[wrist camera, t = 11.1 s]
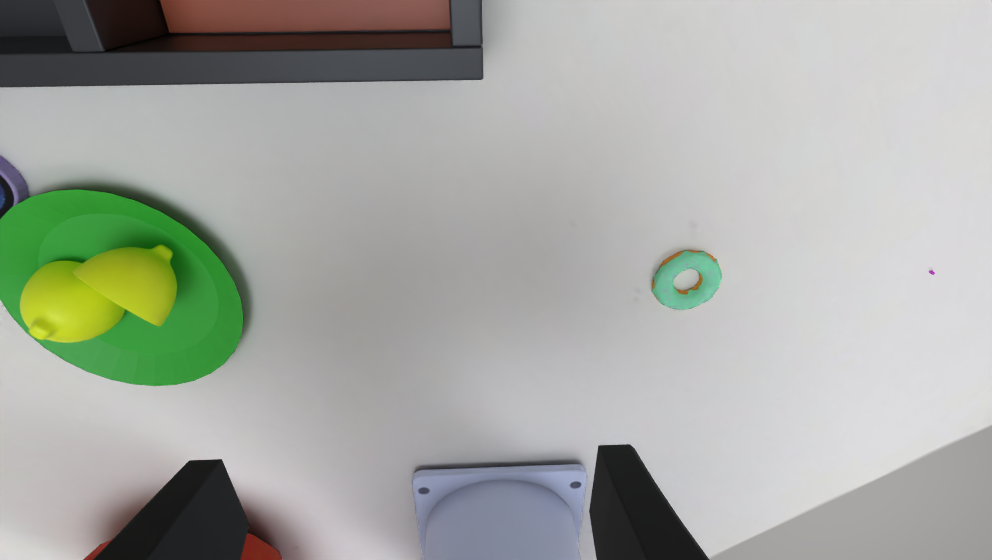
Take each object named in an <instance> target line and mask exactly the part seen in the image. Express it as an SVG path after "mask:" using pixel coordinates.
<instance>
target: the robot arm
mask: <svg viewBox="0 0 992 560" xmlns="http://www.w3.org/2000/svg"><path fill="white" fill-rule="evenodd" d="M586 481H587V474H586V469H585V467H584V466H582V465H579V464H567V465H540V466H514V467H487V468H461V469H434V470H419V471H417V472H415V473H414V474H413V478H412V487H413V494H414V501H415V508H416V516H417V523H418V530H419V537H420V544H421V551H422V558H423V560H581V558H580V553H579V547H578V543H579V535H580V528H581V520H582V512H583V504H584V496H585V489H586ZM589 512H590V519H591V525H592V532H593V539H594V545H595V551H596V557H597V560H709V559H708V557H707V556H706V554H705V553H704V552H703V550H702V549H701V548H700V546H699V545H698V543H697V542H696V541H695V539H694V538H693V537H692V535H691V534H690V533H689V531H688V530H687V528H686V527H685V526H684V524H683V523H682V521H681V520H680V518H679V517H678V516H677V514H676V513H675V511H674V510H673V508H672V507H671V505H670V504H669V502H668V501H667V499H666V498H665V496H664V495H663V493H662V492H661V490H660V489H659V487H658V486H657V484H656V483H655V481H654V480H653V478H652V476H651V475H650V473H649V472H648V470H647V468H646V467H645V465H644V464H643V462H642V460H641V459H640V457H639V455H638V454H637V452H636V450H635V449H634V448H633V447H632V446H631V445H630V444H627V445H600V446H598V453H597V460H596V467H595V474H594V481H593V489H592V496H591V503H590V510H589ZM248 528H249V523H248V520H247V518H246V516H245V513H244V511H243V509H242V506H241V504H240V501H239V499H238V497H237V494H236V492H235V490H234V487H233V485H232V482H231V480H230V478H229V475H228V473H227V471H226V468H225V466H224V463H223V461H222V459H218V460H191V461H188V462H187V463H186V464H185V466H184V467H183V468H182V469H181V470H180V471H179V472H178V473H177V474H176V475H175V476H174V477H173V478H172V479H171V480H170V481H169V482H168V483H167V484H166V485H165V486H164V487H163V488H162V489H161V490H160V491H159V492H158V493H157V494H156V495H155V496H154V497H153V498H152V499H151V500H150V501H149V502H148V503H147V505H146V506H145V507H144V508H143V509H142V510H141V511H140V512H139V513H138V514H137V515H136V516H135V517H134V518H133V519H132V520H131V521H130V522H129V523H128V524H127V525H126V526H125V527H124V528H123V529H122V530H121V531H120V533H119V534H118V535H117V536H116V537H115V538H114V539H113V540H112V541H111V542H110V543H109V544H108V545H107V546H106V547H105V548H104V549H103V550H102V551H101V552H100V553H99V554H98V555H97V556H96V557H95V558H94V559H93V560H240V559H241V556H242V552H243V548H244V544H245V540H246V536H247V532H248Z"/></svg>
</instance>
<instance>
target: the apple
mask: <svg viewBox="0 0 992 560" xmlns="http://www.w3.org/2000/svg"><path fill="white" fill-rule="evenodd" d="M113 539H114V538H113ZM113 539H111V540H109V541H107V542H105V543H103V544H100V545H99V546H98V547H97V548H96V549H95V550H94V551H92V552H91V553H90V554H89V555H88V556H87V557H86V558H85V559H83V560H93V559H94V558H95V557H96V556H97V555H98V554H99V553H100V552H101V551H102V550H103V549H104V548H105V547H106V546H107V545H108V544H109V543H110V542H111V541H112V540H113ZM240 560H282V558H281V555H280V553H279V551H278V550H276V549H274V548H273V547H271V546H270V545H268V544H267V543H265V542H263V541H262V540H260V539H259V538H257V537H256V536H254V535H251V534H249V533H247V536H246V540H245V544H244V548H243V552H242V556H241V559H240Z"/></svg>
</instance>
